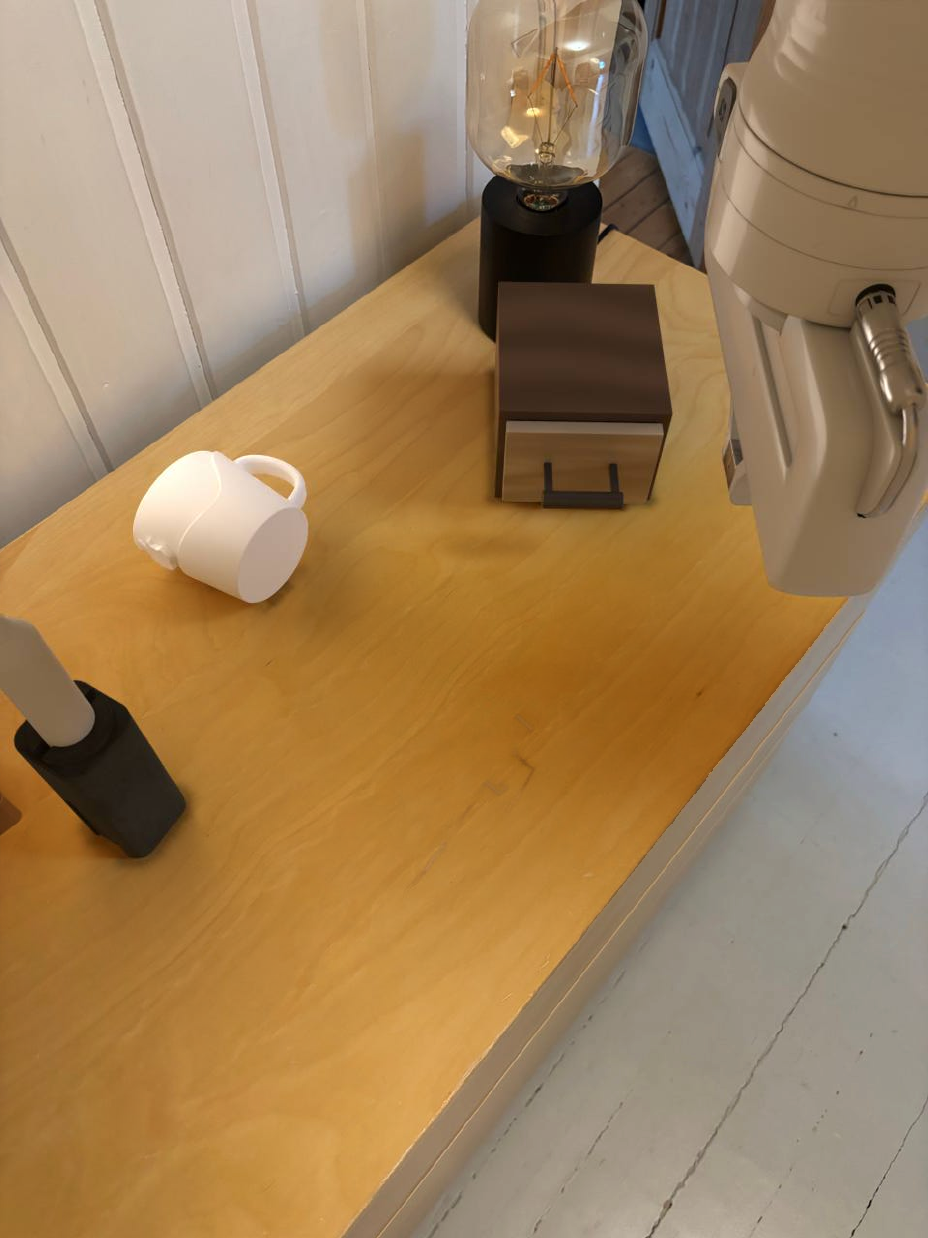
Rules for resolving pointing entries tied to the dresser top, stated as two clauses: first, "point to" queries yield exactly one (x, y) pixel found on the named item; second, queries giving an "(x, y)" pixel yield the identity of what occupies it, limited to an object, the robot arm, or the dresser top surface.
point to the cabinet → (578, 358)
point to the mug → (225, 523)
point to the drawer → (580, 463)
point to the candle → (86, 745)
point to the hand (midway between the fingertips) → (742, 481)
